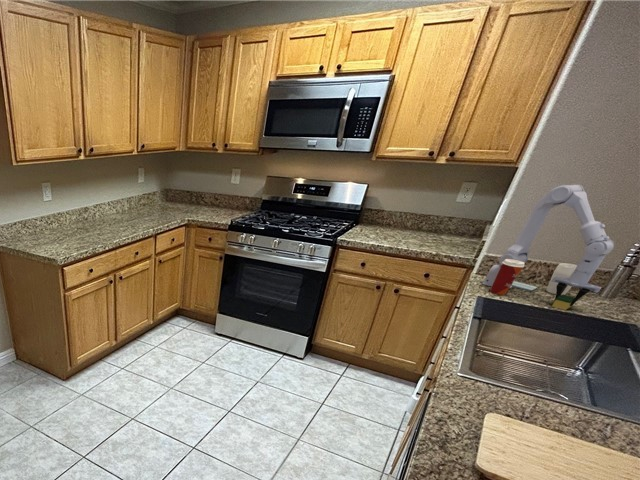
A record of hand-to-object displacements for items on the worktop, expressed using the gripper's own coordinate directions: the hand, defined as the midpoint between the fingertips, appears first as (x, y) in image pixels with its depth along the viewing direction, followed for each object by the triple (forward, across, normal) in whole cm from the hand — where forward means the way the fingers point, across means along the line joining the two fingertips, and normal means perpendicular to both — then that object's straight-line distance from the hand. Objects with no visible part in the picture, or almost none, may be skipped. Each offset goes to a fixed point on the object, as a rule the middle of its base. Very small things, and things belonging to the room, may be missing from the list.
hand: (563, 303), depth 171 cm
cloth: (+1, -19, +15) cm, 24 cm away
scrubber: (+1, 0, 0) cm, 1 cm away
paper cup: (+2, -21, -5) cm, 22 cm away
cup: (+2, -7, +20) cm, 21 cm away
